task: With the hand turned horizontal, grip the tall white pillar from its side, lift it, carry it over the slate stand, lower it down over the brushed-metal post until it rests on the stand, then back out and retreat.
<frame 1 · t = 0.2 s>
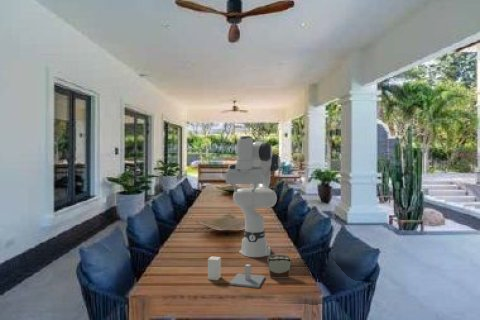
hand: (244, 192, 220), 40 cm above the table, tool pointing down, fingers open, 8 cm apart
post stand: (247, 281, 200), on the table
food container: (278, 275, 209), on the table
tall white pillar: (214, 278, 205), on the table
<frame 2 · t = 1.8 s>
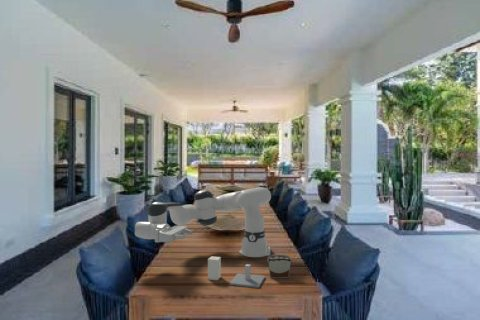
hand: (188, 234, 208), 20 cm above the table, tool horizontal, fingers open, 8 cm apart
nothing on the table moved.
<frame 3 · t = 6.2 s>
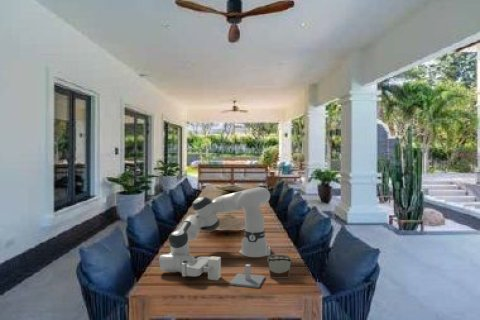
hand: (215, 267, 204), 6 cm above the table, tool horizontal, fingers closed on tall white pillar, 5 cm apart
tall white pillar: (214, 278, 205), on the table, touching gripper
everything else where it was.
when the fingers open (7 cm above the table, at t = 12.6 s): tall white pillar stays where it is, resting on post stand.
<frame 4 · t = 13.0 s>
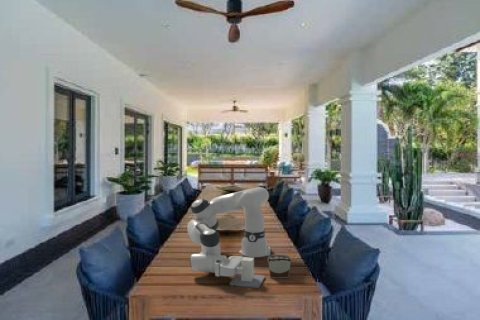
hand: (248, 266, 200), 7 cm above the table, tool horizontal, fingers open, 8 cm apart
tall white pillar: (247, 279, 200), point 1 cm above the table, touching post stand
everything else where it was.
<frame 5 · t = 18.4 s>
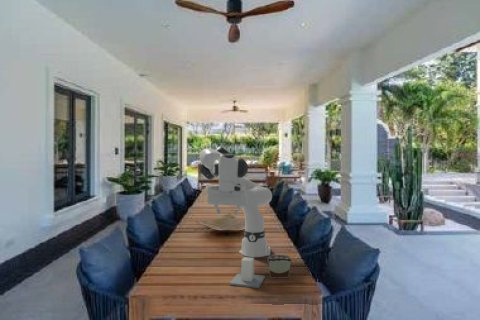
hand: (227, 213, 207), 31 cm above the table, tool pointing down, fingers open, 8 cm apart
nothing on the table moved.
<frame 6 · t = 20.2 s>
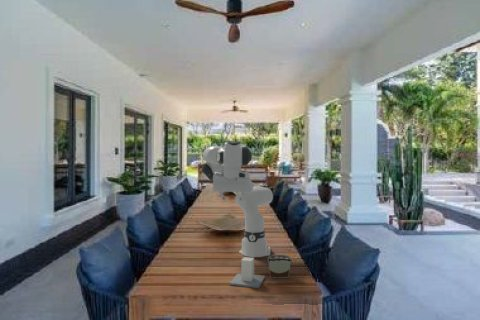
hand: (232, 200, 211), 37 cm above the table, tool pointing down, fingers open, 8 cm apart
nothing on the table moved.
at the end: tall white pillar 0.1 cm from the post stand (horizontally); tall white pillar point 1.0 cm above the table; the gripper is holding nothing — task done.
